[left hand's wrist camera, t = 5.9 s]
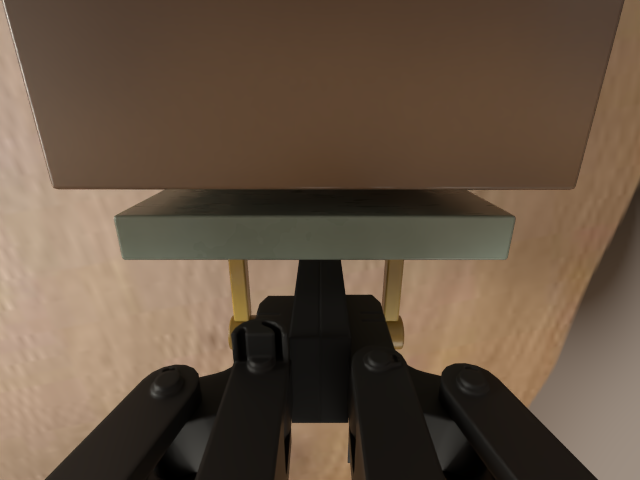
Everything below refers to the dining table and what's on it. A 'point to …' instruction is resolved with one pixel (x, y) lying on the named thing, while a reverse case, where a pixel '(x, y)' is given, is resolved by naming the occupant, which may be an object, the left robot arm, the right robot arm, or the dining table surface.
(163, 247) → the drawer
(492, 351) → the dining table surface
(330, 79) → the wooden drawer cabinet
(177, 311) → the dining table surface
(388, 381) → the left robot arm
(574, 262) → the dining table surface
